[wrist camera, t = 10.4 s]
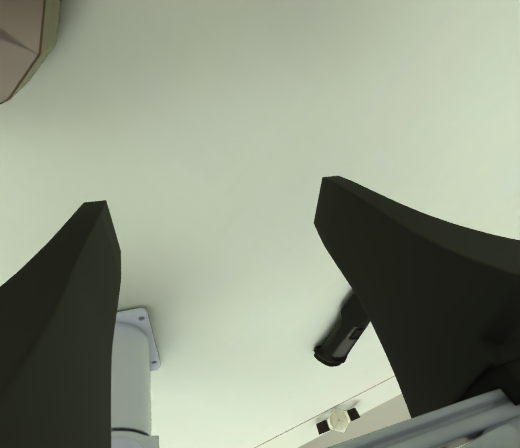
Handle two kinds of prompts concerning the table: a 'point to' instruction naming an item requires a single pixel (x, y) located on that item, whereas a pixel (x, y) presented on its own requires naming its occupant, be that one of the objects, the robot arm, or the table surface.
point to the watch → (337, 420)
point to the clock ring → (25, 40)
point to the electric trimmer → (343, 334)
